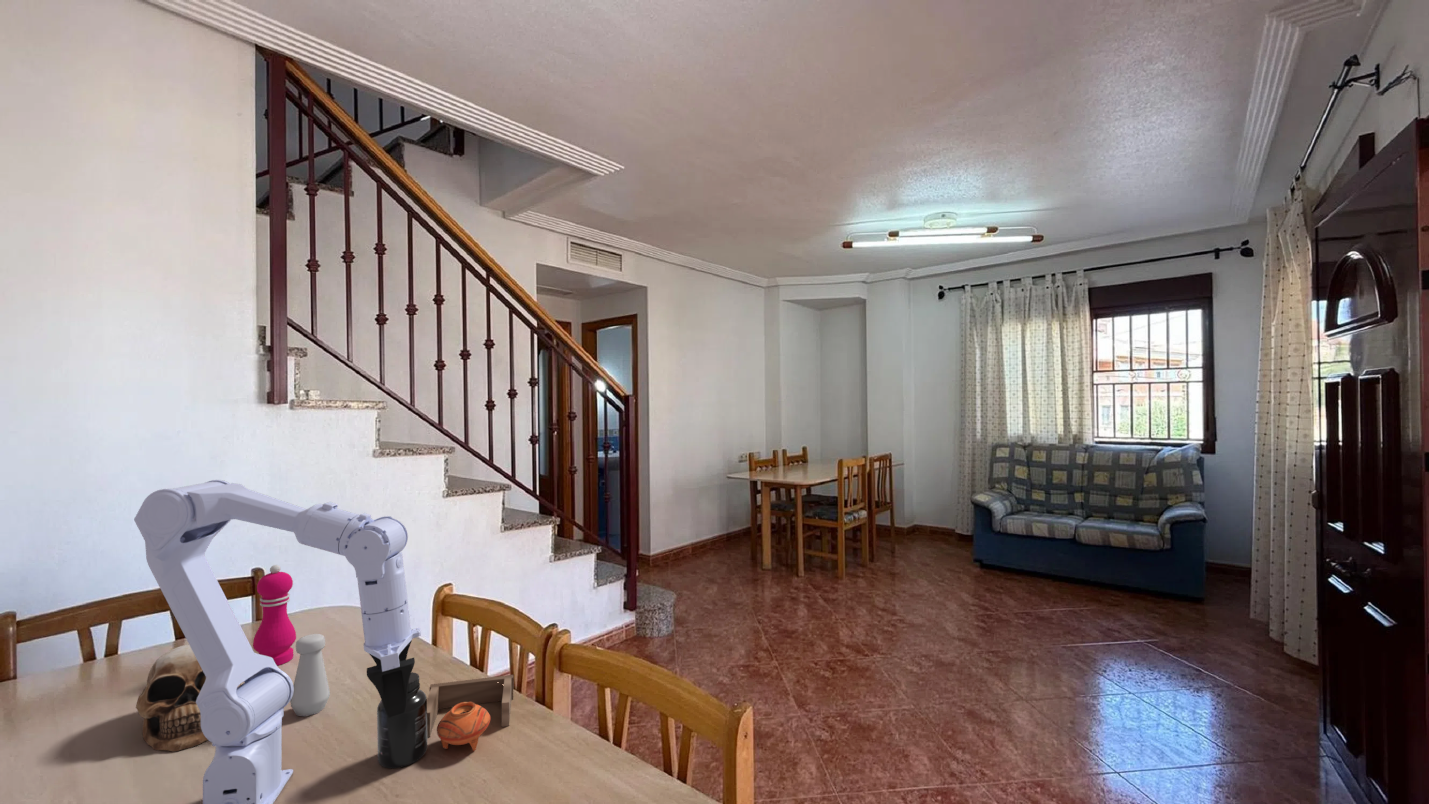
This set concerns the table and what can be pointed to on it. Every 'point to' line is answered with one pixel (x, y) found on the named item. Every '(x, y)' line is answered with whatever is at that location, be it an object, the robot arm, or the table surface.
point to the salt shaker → (310, 677)
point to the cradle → (470, 696)
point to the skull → (173, 701)
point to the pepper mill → (275, 617)
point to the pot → (463, 725)
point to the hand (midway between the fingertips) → (396, 702)
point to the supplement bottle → (403, 729)
